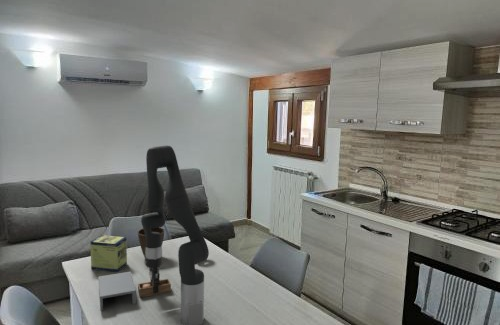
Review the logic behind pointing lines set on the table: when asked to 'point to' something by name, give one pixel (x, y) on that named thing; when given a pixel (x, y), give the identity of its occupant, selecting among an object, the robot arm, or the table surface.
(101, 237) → the protein box
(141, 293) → the tray
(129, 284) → the counter shelf
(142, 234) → the plant pot
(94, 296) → the table surface
